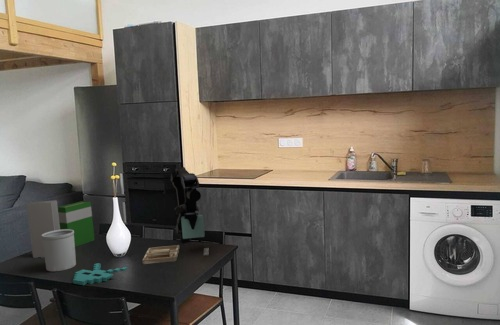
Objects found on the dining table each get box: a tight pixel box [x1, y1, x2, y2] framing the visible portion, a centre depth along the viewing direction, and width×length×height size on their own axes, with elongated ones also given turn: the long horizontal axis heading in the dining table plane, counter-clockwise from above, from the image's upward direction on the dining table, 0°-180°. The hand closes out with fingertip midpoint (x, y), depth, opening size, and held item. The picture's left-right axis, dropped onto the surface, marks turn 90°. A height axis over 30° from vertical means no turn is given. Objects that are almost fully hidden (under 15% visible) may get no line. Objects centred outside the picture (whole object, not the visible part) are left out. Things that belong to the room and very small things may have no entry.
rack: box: [142, 244, 181, 265], centre depth 213 cm, size 20×16×3 cm
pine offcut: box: [152, 249, 170, 256], centre depth 208 cm, size 4×8×2 cm, turn 91°
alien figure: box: [72, 262, 129, 286], centre depth 194 cm, size 20×2×20 cm
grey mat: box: [202, 247, 210, 256], centre depth 218 cm, size 11×13×1 cm
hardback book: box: [57, 200, 96, 248], centre depth 251 cm, size 18×7×24 cm, turn 150°
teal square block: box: [181, 214, 206, 239], centre depth 216 cm, size 3×11×11 cm, turn 94°
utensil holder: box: [41, 229, 77, 272], centre depth 210 cm, size 15×15×18 cm
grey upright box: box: [26, 200, 60, 259], centre depth 230 cm, size 14×6×30 cm, turn 84°
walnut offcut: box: [148, 253, 170, 259], centre depth 208 cm, size 4×10×2 cm, turn 100°
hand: (193, 228), depth 216 cm, fingers closed on teal square block, 3 cm apart
